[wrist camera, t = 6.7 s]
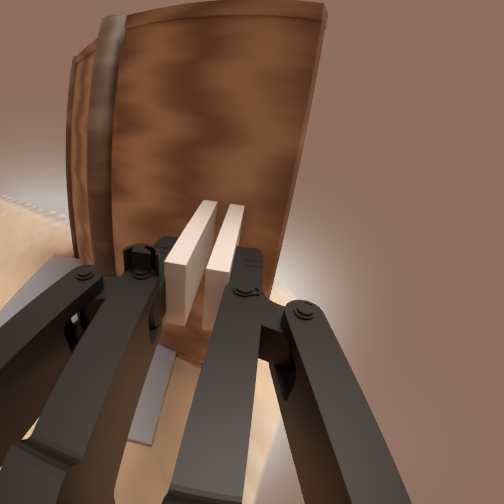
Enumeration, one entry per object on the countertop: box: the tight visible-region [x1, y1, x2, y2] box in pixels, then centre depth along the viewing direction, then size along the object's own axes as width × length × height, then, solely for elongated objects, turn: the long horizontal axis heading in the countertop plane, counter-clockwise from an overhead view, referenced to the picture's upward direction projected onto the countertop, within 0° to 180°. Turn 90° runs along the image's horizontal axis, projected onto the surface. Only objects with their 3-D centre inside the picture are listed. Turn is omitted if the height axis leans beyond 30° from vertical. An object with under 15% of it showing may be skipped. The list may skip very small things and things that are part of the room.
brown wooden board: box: [111, 0, 328, 364], centre depth 17 cm, size 12×1×25 cm, turn 68°
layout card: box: [0, 254, 177, 446], centre depth 24 cm, size 20×20×1 cm
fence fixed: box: [66, 15, 127, 277], centre depth 23 cm, size 16×2×26 cm, turn 43°
